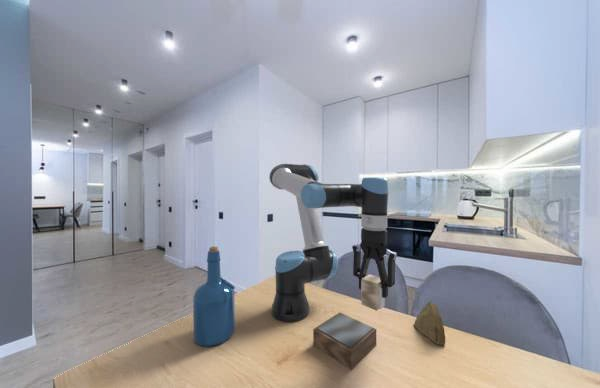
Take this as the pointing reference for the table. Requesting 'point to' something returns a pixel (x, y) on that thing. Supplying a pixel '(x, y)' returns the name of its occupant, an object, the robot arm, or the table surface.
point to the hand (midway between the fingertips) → (372, 303)
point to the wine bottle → (213, 305)
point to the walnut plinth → (345, 339)
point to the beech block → (370, 291)
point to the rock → (431, 324)
